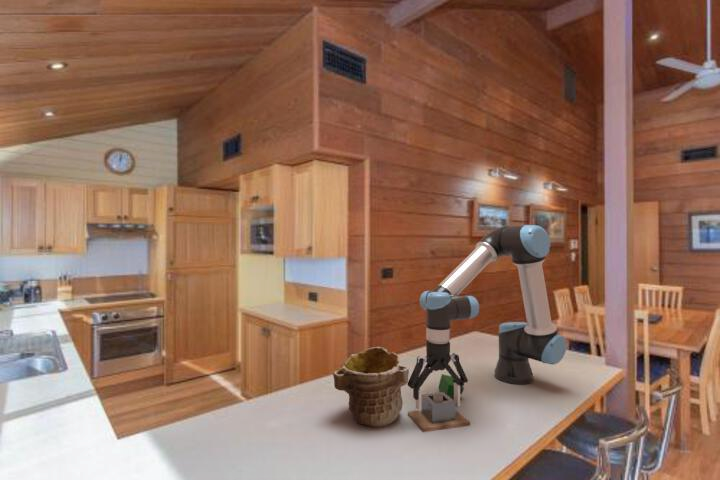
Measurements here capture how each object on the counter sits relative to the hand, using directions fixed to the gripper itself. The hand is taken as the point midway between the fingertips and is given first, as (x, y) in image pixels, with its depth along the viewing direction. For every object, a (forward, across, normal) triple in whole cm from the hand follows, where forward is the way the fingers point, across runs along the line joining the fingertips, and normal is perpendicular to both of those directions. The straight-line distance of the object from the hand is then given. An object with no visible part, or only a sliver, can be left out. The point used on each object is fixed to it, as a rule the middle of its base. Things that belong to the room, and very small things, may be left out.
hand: (438, 406), depth 126 cm
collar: (+3, 0, 0) cm, 3 cm away
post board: (+4, 0, 0) cm, 4 cm away
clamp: (+4, -14, -17) cm, 23 cm away
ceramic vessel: (+4, +21, -7) cm, 23 cm away
